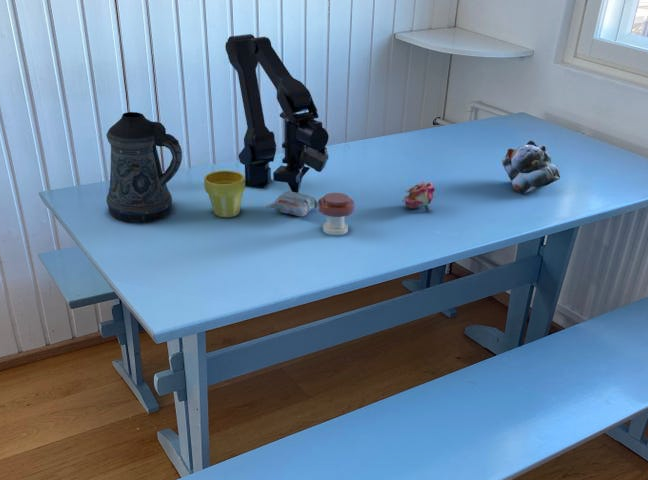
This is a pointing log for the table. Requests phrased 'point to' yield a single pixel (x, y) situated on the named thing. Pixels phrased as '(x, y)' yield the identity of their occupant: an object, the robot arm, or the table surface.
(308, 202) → the packaged food
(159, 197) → the beer stein
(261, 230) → the table surface
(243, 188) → the flower pot
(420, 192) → the flower
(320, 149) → the robot arm
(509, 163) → the lucky cat figurine
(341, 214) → the mushroom
